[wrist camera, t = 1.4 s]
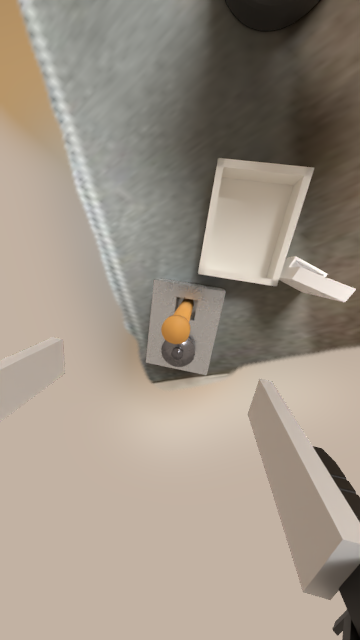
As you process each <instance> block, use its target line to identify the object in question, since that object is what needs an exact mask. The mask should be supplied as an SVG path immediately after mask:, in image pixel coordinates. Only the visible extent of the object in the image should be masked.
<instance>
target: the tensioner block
mask: <svg viewBox="0 0 360 640" xmlns="http://www.w3.org/2000/svg"><path fill="white" fill-rule="evenodd" d="M225 293H226V291H225V290H224V289H223V288H217V287H211V286H205V285H199V284H193V283H187V282H181V281H175V280H169V279H163V278H160V279H155V280H154V286H153V296H152V305H151V315H150V325H149V335H148V345H147V355H146V363H150V364H155V365H160V366H165V367H169V368H174V369H179V370H184V371H189V372H193V373H198V374H203V375H207V371H208V367H209V363H210V358H211V354H212V350H213V345H214V341H215V337H216V332H217V328H218V324H219V319H220V315H221V311H222V306H223V302H224V298H225ZM184 299H191V300H192V301H193V303H194V306H193V310H192V314H191V317H190V321H189V323H190V334H189V337H188V339H187V340H186V341H185V342H183V343H181V344H172V343H169V342H168V341H166V340H165V339H164V337H163V335H162V332H161V328H162V325H163V323H164V321H165V320H166V319H167V318H168V317H169V316H172V315H173V314H174V313H175V311H176V310H177V308H178V307H179V305H180V304H181V302H182V301H183V300H184Z"/></svg>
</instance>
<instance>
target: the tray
mask: <svg viewBox="0 0 360 640" xmlns="http://www.w3.org/2000/svg"><path fill="white" fill-rule="evenodd" d="M313 171H314V168H313V167H303V166H293V165H283V164H274V163H264V162H254V161H244V160H235V159H225V158H218V162H217V168H216V173H215V179H214V185H213V190H212V196H211V202H210V207H209V213H208V219H207V225H206V230H205V236H204V242H203V247H202V253H201V259H200V264H199V270H198V274H202V275H208V276H214V277H220V278H227V279H233V280H239V281H245V282H252V283H258V284H264V285H270V286H277V284H278V281H279V278H280V275H281V272H282V269H283V265H284V262H285V259H286V256H287V253H288V250H289V247H290V243H291V240H292V237H293V234H294V231H295V228H296V225H297V221H298V218H299V215H300V212H301V209H302V206H303V202H304V199H305V196H306V193H307V190H308V187H309V184H310V180H311V177H312V174H313Z"/></svg>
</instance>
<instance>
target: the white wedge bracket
mask: <svg viewBox="0 0 360 640" xmlns="http://www.w3.org/2000/svg"><path fill="white" fill-rule="evenodd" d="M326 276H327V273H325V272H323V271H322V270H320V269H318V268H316V267H314V266H313V265H311V264H309V263H307V262H305V261H303V260H302V259H300V258H298V257H296V256H295V257H287V258H286V259H285V262H284V265H283V269H282V272H281V275H280V278H279V280H280V281H282V282H284V283H286V284H288V285H289V286H291V287H293V288H295V289H297V290H299V291H300V292H303V293H308V294H312V295H316V296H320V297H325V298H329V299H333V300H337V301H341V302H346V300H347V299H348V298H349V297H350V296H351V295H352V294H353V292H354V291H355V290H356V289H354V288H352V287H349V286H347V285H344V284H342V283H339V282H337V281H334V280H332V279H329V278H325V277H326Z"/></svg>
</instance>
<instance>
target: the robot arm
mask: <svg viewBox="0 0 360 640" xmlns="http://www.w3.org/2000/svg"><path fill="white" fill-rule="evenodd" d="M318 1H319V0H226V2H227V4H228V6H229V8H230V10H231V11H232V13H233V14H234V15H235V16H236V17H237V19H239V20H240V21H241V22H242V23H243V24H245V25H246V26H248V27H250V28H253V29H256V30H262V31H271V30H277V29H280V28H283V27H286V26H288V25H290V24H292V23H294V22H296V21H297V20H299V19H300V18H301V17H303V16H304V15H305V14H306V13H308V12H309V11H310V10H311V9H312V8H313V7H314V6H315V5H316V4H317V3H318ZM64 374H65V364H64V347H63V339H61V338H55V337H52V338H49V339H47V340H45V341H43V342H40V343H38V344H36V345H33V346H31V347H29V348H27V349H24V350H22V351H20V352H18V353H15V354H13V355H11V356H8V357H6V358H4V359H2V360H0V422H1V421H2V420H4V419H5V418H6V417H8V416H9V415H10V414H12V413H13V412H14V411H16V410H17V409H18V408H20V407H21V406H22V405H24V404H25V403H26V402H28V401H29V400H30V399H32V398H33V397H34V396H36V395H37V394H38V393H40V392H41V391H42V390H44V389H45V388H46V387H48V386H49V385H50V384H52V383H53V382H54V381H56V380H57V379H58V378H60V377H61V376H62V375H64ZM248 416H249V419H250V422H251V426H252V429H253V432H254V435H255V439H256V442H257V445H258V448H259V452H260V455H261V458H262V461H263V464H264V468H265V471H266V474H267V477H268V481H269V484H270V487H271V490H272V493H273V496H274V500H275V503H276V506H277V509H278V513H279V516H280V519H281V522H282V526H283V529H284V532H285V535H286V538H287V541H288V545H289V548H290V551H291V555H292V558H293V561H294V564H295V567H296V571H297V574H298V577H299V580H300V583H301V587H302V590H303V592H305V593H308V594H312V595H315V596H319V597H322V598H325V599H328V600H331V599H332V597H333V596H334V595H335V594H336V593H337V592H338V591H340V593H341V595H342V598H343V600H344V602H345V605H346V607H347V610H346V611H345V612H344V614H343V615H341V617H340V618H339V619H338V620H337V621H336V622H335V625H334V627H333V631H334V632H335V633H336V634H337V635H339V634H340V633H341V632H342V631H343V640H360V497H359V496H358V495H356V492H355V490H354V489H353V487H352V486H351V484H350V483H349V481H347V480H346V477H345V475H344V474H343V472H342V471H341V470H340V468H339V467H338V465H337V464H336V462H335V461H334V460H333V459H332V458H331V457H330V456H329V455H328V454H327V453H326V452H325V451H324V450H323V449H322V448H318V447H314V446H312V445H311V443H310V441H309V440H308V438H307V437H306V435H305V434H304V432H303V430H302V429H301V427H300V425H299V424H298V422H297V421H296V419H295V417H294V416H293V414H292V412H291V411H290V409H289V408H288V406H287V404H286V403H285V401H284V400H283V398H282V396H281V395H280V393H279V392H278V390H277V388H276V387H275V385H274V384H273V382H272V381H267V380H262V379H260V380H259V382H258V385H257V388H256V391H255V394H254V397H253V400H252V403H251V406H250V409H249V412H248Z"/></svg>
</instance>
